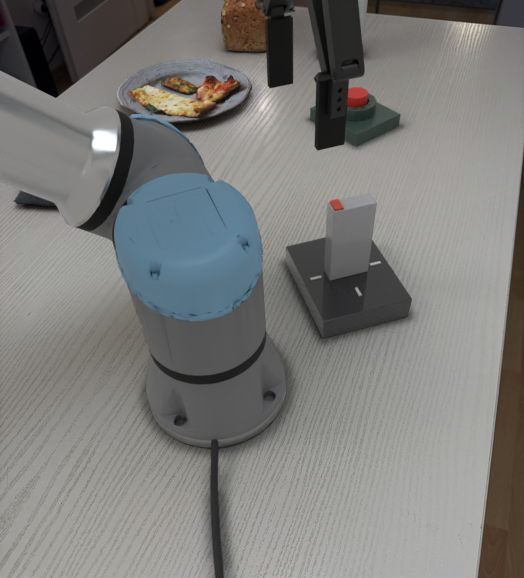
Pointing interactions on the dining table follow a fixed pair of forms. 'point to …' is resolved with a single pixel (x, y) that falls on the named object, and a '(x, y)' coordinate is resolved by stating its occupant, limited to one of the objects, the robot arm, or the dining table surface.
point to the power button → (357, 97)
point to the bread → (243, 25)
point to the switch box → (367, 121)
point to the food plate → (184, 90)
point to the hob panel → (346, 290)
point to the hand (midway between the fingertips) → (303, 113)
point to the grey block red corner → (349, 235)
